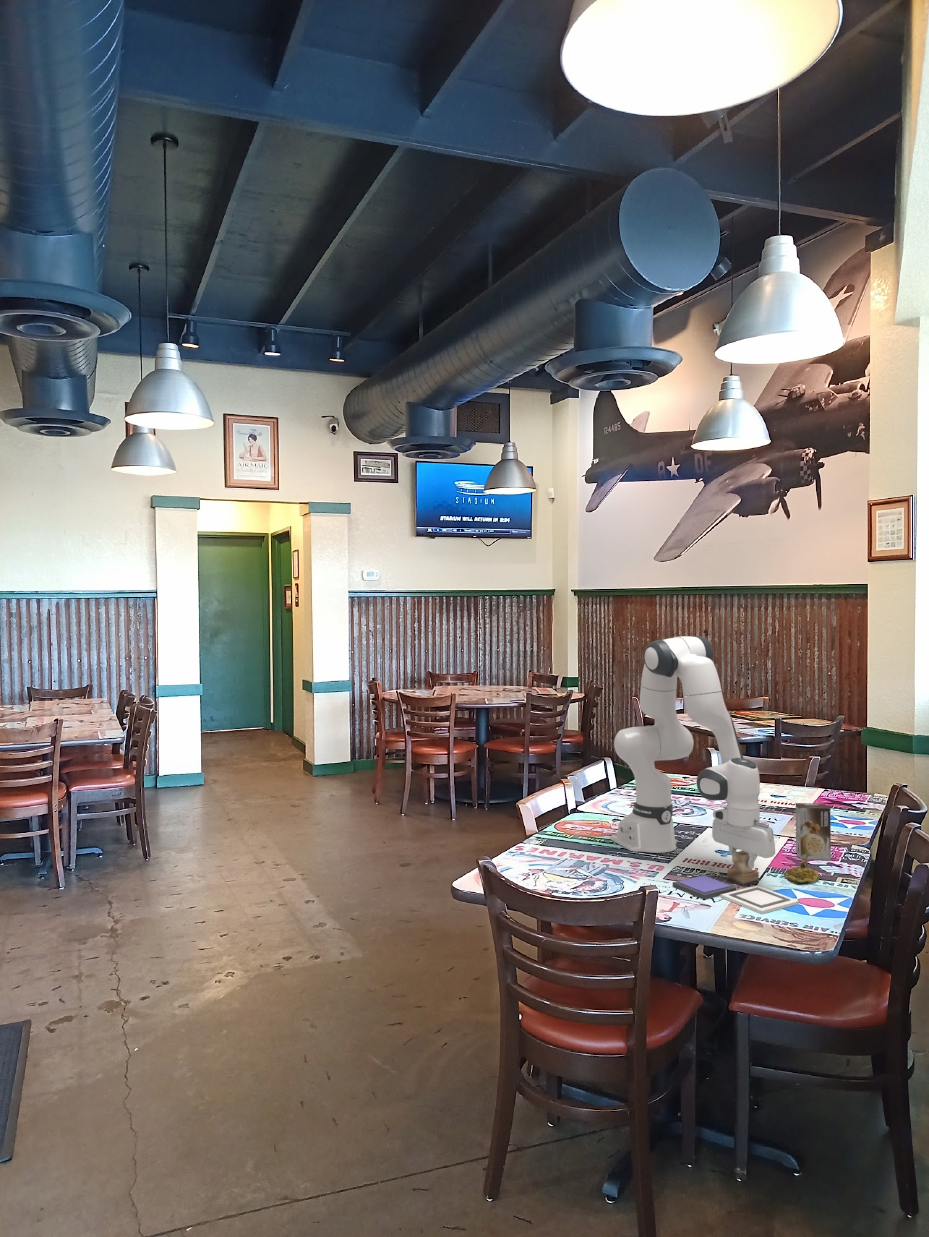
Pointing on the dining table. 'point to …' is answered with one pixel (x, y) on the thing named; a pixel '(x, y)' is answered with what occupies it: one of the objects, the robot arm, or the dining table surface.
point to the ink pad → (704, 887)
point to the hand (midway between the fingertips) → (742, 865)
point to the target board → (759, 899)
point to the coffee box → (813, 831)
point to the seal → (802, 874)
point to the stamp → (742, 870)
